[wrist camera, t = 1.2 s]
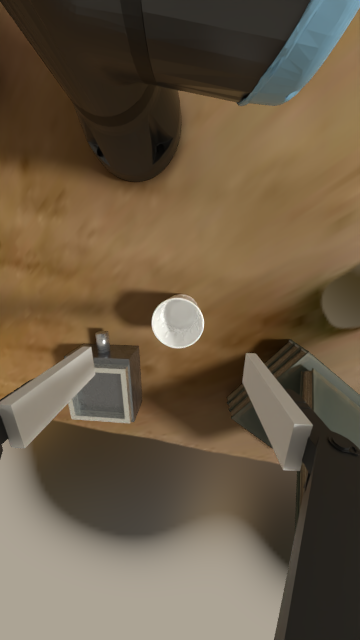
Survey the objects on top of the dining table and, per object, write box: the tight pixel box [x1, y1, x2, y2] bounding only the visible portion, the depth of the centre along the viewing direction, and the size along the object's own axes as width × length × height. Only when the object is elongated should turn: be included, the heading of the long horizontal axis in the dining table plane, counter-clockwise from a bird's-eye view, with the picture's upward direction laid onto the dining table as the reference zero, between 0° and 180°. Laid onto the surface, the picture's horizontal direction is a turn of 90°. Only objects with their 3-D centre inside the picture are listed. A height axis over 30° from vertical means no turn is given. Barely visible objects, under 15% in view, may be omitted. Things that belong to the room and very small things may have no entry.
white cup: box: [152, 294, 204, 348], centre depth 30 cm, size 8×8×10 cm
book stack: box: [227, 339, 360, 533], centre depth 27 cm, size 23×20×25 cm
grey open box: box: [64, 331, 142, 423], centre depth 36 cm, size 19×13×8 cm
